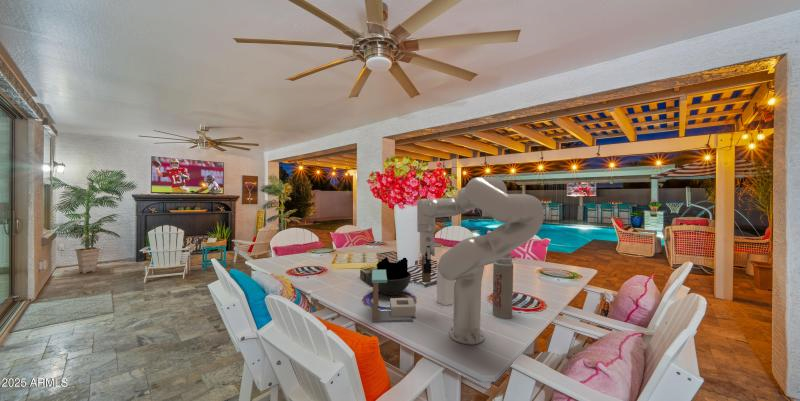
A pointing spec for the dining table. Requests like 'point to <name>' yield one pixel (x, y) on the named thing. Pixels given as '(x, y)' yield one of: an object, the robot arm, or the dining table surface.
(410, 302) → the socket station
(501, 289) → the thermos bottle
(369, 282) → the juice carton
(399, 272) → the coal bowl
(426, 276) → the peg
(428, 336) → the dining table surface
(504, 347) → the dining table surface
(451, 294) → the milk
